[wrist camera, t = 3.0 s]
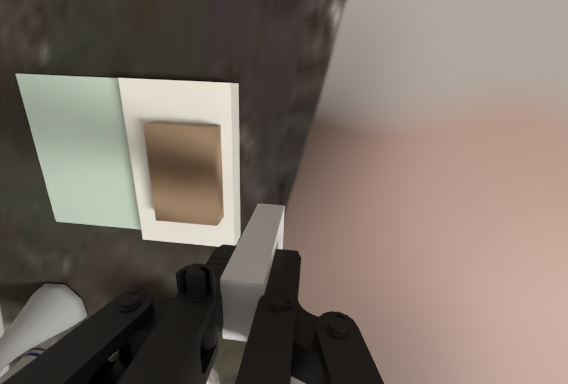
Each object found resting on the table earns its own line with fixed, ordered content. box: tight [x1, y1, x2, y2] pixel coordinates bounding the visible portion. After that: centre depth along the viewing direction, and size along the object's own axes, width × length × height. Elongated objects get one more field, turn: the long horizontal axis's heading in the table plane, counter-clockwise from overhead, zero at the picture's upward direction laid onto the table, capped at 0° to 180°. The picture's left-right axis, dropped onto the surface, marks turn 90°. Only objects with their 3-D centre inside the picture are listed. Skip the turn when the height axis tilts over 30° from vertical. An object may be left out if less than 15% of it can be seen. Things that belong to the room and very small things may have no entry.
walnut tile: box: [143, 121, 224, 226], centre depth 25 cm, size 9×6×2 cm, turn 178°
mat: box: [16, 74, 141, 229], centre depth 29 cm, size 16×12×1 cm
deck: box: [118, 78, 240, 247], centre depth 27 cm, size 16×10×2 cm, turn 178°
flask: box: [0, 283, 87, 371], centre depth 33 cm, size 7×7×10 cm
